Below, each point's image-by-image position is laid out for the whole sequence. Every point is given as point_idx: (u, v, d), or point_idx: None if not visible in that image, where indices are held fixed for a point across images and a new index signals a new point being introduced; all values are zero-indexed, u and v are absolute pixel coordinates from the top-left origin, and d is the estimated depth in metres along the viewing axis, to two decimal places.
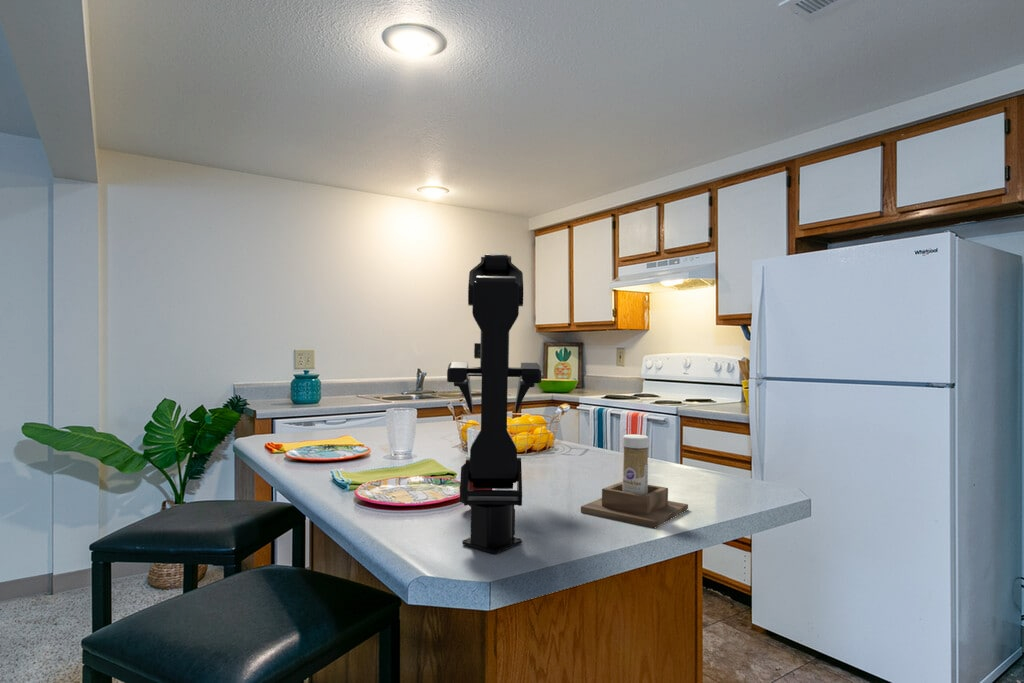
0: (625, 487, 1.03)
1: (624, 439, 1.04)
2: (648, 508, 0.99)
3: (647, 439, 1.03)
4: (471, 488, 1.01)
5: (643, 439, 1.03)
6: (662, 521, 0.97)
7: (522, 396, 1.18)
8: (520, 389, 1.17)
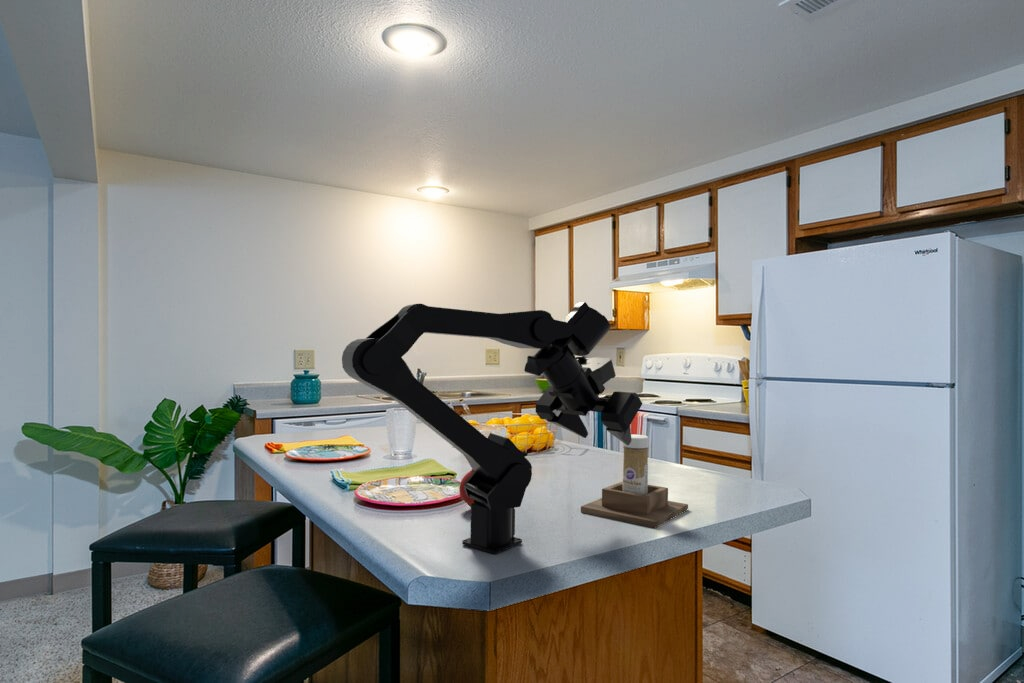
0: (625, 487, 1.03)
1: None
2: (648, 508, 0.99)
3: (647, 439, 1.03)
4: None
5: (643, 439, 1.03)
6: (662, 521, 0.97)
7: (618, 436, 0.93)
8: (610, 432, 0.92)
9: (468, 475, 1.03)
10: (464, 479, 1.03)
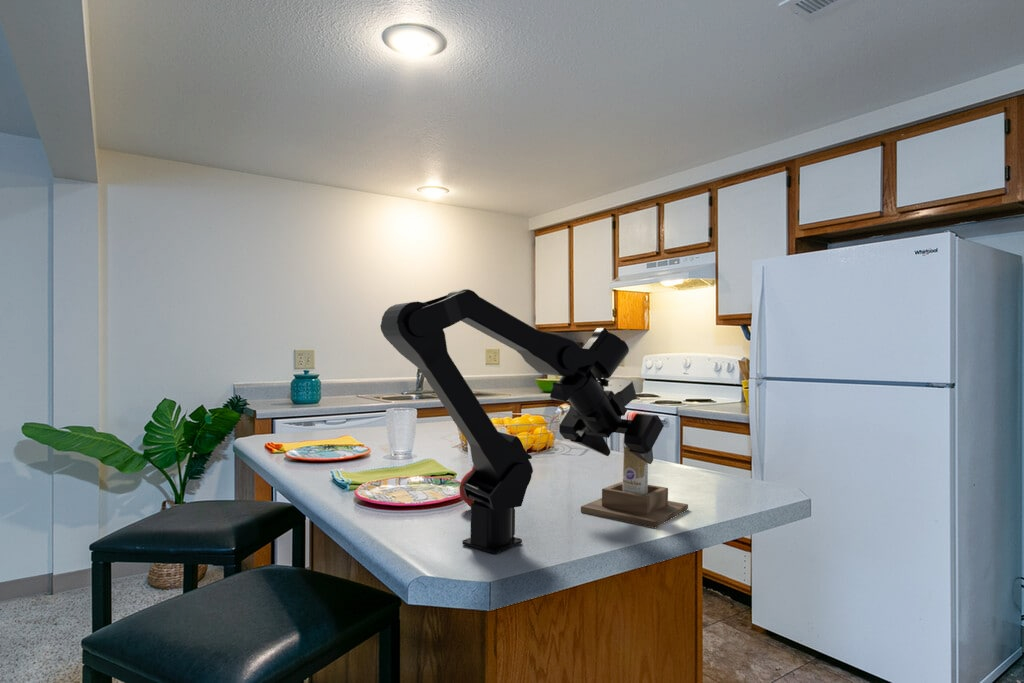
0: (625, 487, 1.03)
1: None
2: (648, 508, 0.99)
3: None
4: None
5: None
6: (662, 521, 0.97)
7: (641, 457, 0.96)
8: None
9: (468, 475, 1.03)
10: (464, 479, 1.03)
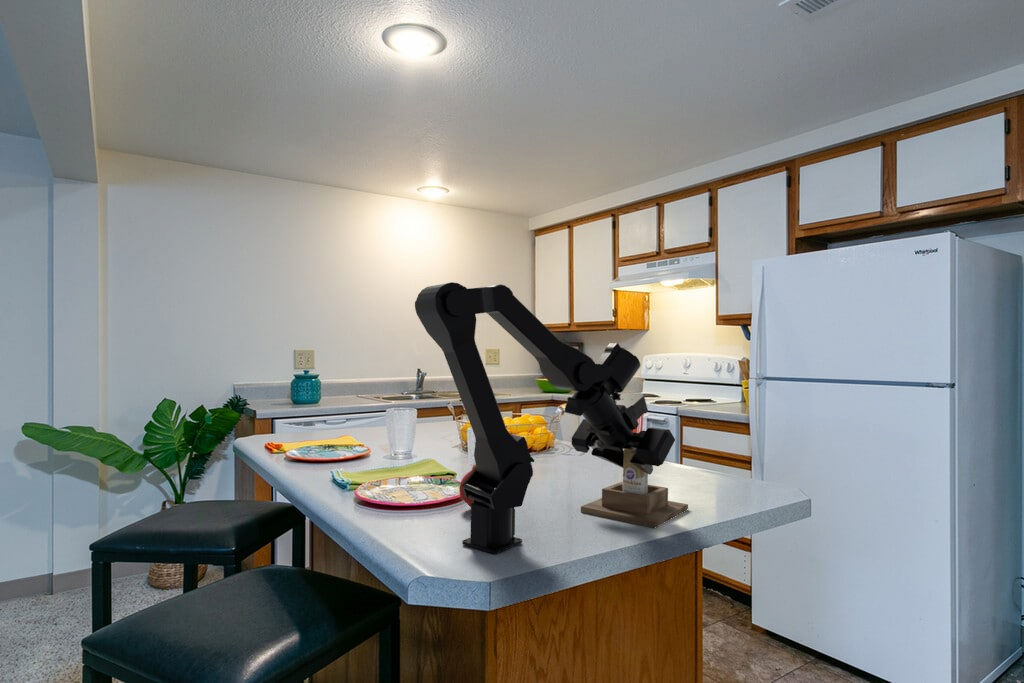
0: (626, 487, 1.03)
1: None
2: (648, 508, 0.99)
3: None
4: None
5: None
6: (662, 521, 0.97)
7: (641, 467, 1.00)
8: (633, 464, 0.99)
9: (468, 475, 1.03)
10: (464, 479, 1.03)
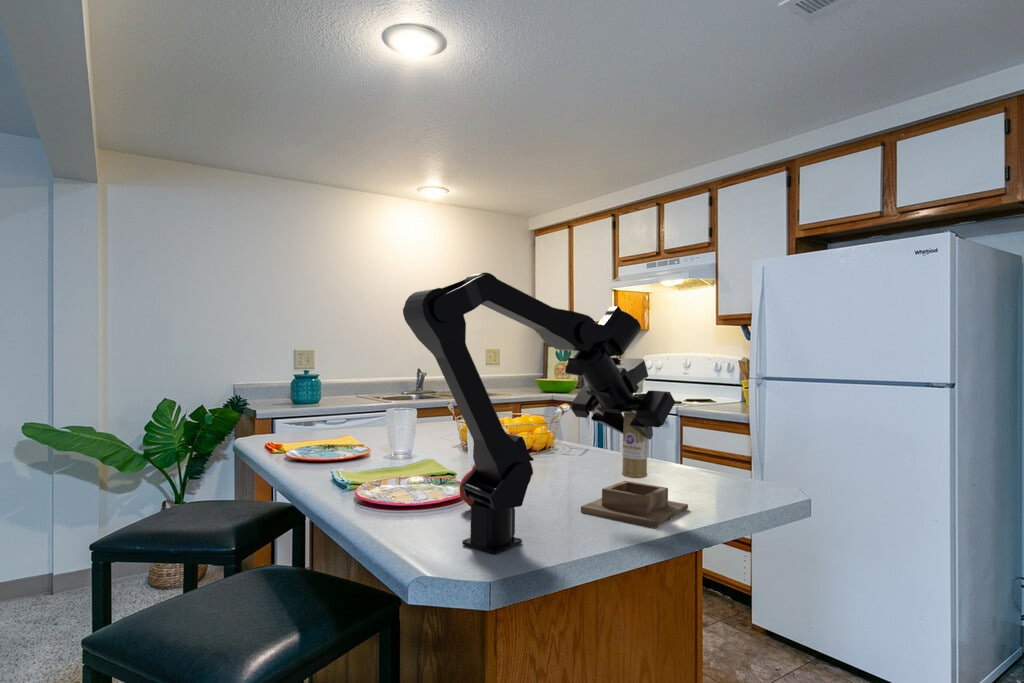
0: (625, 452, 1.03)
1: None
2: (648, 508, 0.99)
3: None
4: None
5: None
6: (662, 521, 0.97)
7: (641, 431, 1.00)
8: (633, 427, 0.99)
9: (468, 475, 1.03)
10: (464, 479, 1.03)
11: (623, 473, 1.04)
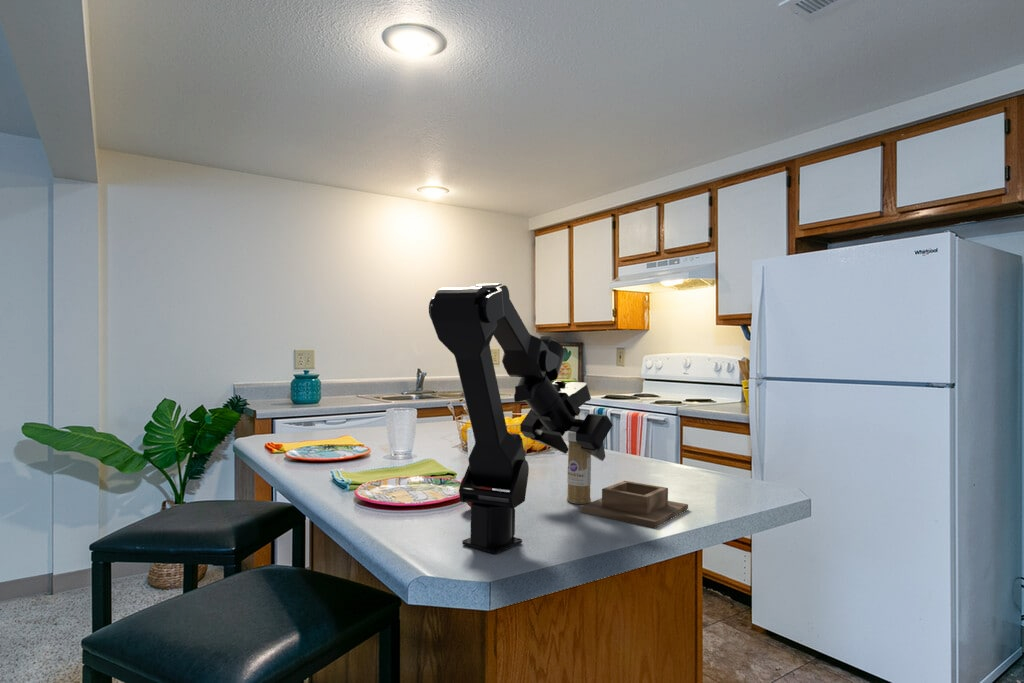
0: (569, 479, 1.09)
1: (568, 433, 1.10)
2: (648, 508, 0.99)
3: None
4: None
5: None
6: (662, 521, 0.97)
7: (592, 454, 1.04)
8: (584, 450, 1.04)
9: None
10: None
11: (568, 499, 1.10)
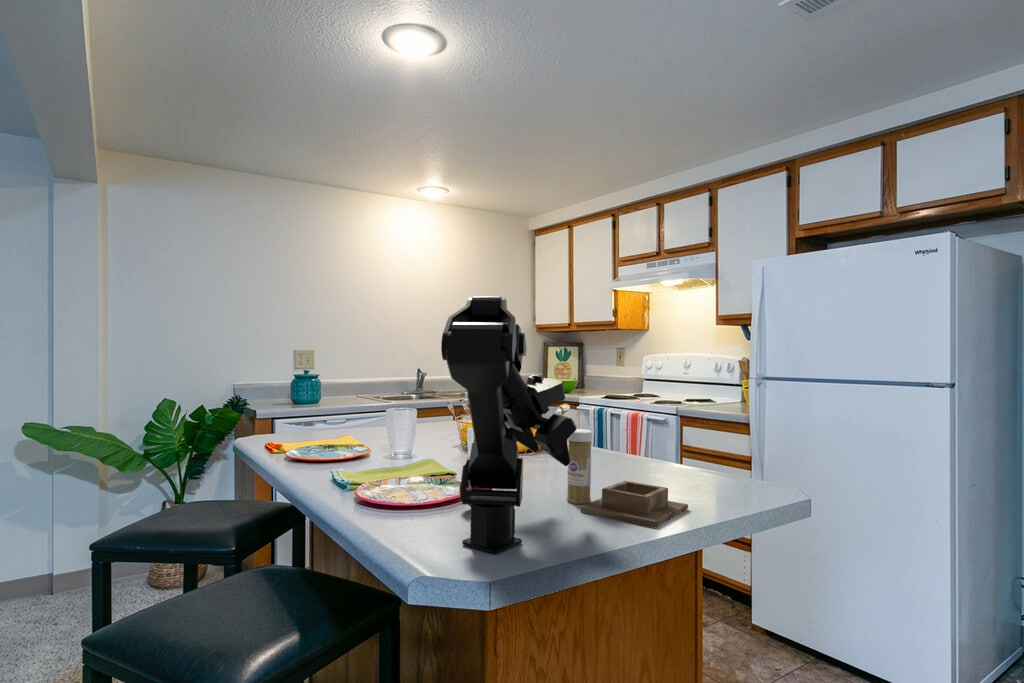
0: (569, 479, 1.09)
1: None
2: (648, 508, 0.99)
3: (590, 433, 1.09)
4: (471, 488, 1.01)
5: (585, 433, 1.08)
6: (662, 521, 0.97)
7: (552, 456, 0.98)
8: (544, 451, 0.97)
9: None
10: None
11: (568, 499, 1.10)
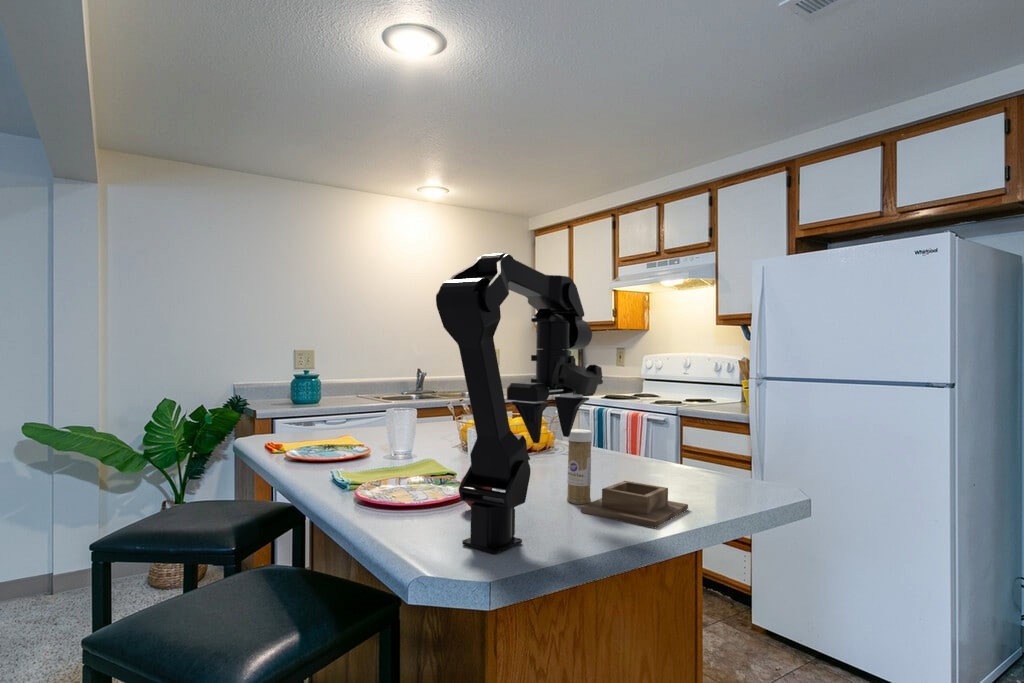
0: (569, 479, 1.09)
1: None
2: (648, 508, 0.99)
3: (590, 433, 1.09)
4: None
5: (585, 433, 1.08)
6: (662, 521, 0.97)
7: None
8: None
9: None
10: None
11: (568, 499, 1.10)
